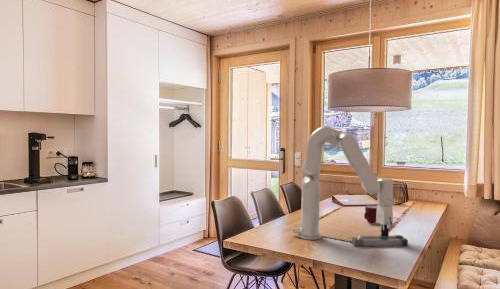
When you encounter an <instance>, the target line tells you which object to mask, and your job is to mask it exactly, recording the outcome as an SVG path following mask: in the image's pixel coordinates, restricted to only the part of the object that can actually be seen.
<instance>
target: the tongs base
mask: <svg viewBox="0 0 500 289" xmlns="http://www.w3.org/2000/svg"><path fill="white" fill-rule="evenodd" d="M362 236H363V235H357V237H352V238H351V244H352V246H353V247H355V248H358V247H359V248H360V247H408V244H409V243H408V242H409V240H408V239H407V238H405V237H404V238H362Z"/></svg>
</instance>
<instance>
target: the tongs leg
mask: <svg viewBox="0 0 500 289" xmlns="http://www.w3.org/2000/svg"><path fill="white" fill-rule="evenodd" d="M361 236H362V238H405V237H404V236H403V235H401V234H399V235H397V234H396V235H388V236H381V235H361Z"/></svg>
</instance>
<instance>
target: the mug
mask: <svg viewBox="0 0 500 289" xmlns="http://www.w3.org/2000/svg"><path fill="white" fill-rule="evenodd" d="M364 211H365V213H364V215H363V216H364V217H363V218H364V219H365V220H366V221H367V223H368V222H369V223H368V224H371V223H374V224H376V222H377V221H376V212H377V205H370V204H369V205H365V208H364Z"/></svg>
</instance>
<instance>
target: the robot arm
mask: <svg viewBox="0 0 500 289" xmlns="http://www.w3.org/2000/svg"><path fill="white" fill-rule="evenodd" d="M326 143H327V144H329V145H332V146H335V147H338V148H340V149H341V151H342V152H343V154H344V157H345V158H346V160H347V163H348V164H349V166H350V167H351V169H352V171H354V172H355V173H356V175H357V176H358V178H359V179H360V182H361V187H362V189H363V190H364V191H365V192H366V193H367V194H370V195H376V196H377V198H376V199H377V201H376V202H377V204H376V206H377V212H376V222H378V223H379V224H380V236H389V230H390V229H391V228H392V225H393V222H394V214H393V213H394V212H393V206H394V180H393V179H391V178H387V177H381V178H378V177H377V176H376V174H375V172H374V171H373V169H372V167H371V165H370V163H369V162H368V160H367V159H366V157H365V155H364V153H363V152H362V149H361V148H360V146H359V144H358V142H357V140H356V139H355V137H354V135H353V134H351V133H349V132H344V131H341V130H337V129H335V128H332V127H331V126H330V125H324V126H319V128H317V129H316V130H314V131H313V132H312V133H311V135H310V136H309V137H308V139H307V143H306V148H305V149H306V150H305V158H304V161H303V165H302V170H301V171H302V172H301V200H300V201H301V204H300V205H301V207H300V208H301V209H300V210H301V211H300V215H301V216H300V226H299V227H297V228H295V227H294V228H293V227H292V228H291V232H292V233H295V234H297V236H298V237H299V239H300V238H301V239H303V240H309V241H310V240H312V241H314V240H319V239H321V238H322V236H323V235H322V233H321V232H320V231H319V230H320V202H321V199H320V198H321V185H320V172H321V170H322V156H323V151H324V149H323V148H324V146H325V144H326Z"/></svg>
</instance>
